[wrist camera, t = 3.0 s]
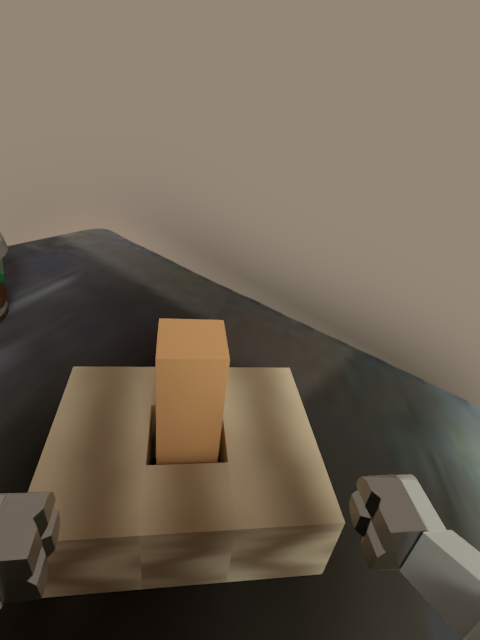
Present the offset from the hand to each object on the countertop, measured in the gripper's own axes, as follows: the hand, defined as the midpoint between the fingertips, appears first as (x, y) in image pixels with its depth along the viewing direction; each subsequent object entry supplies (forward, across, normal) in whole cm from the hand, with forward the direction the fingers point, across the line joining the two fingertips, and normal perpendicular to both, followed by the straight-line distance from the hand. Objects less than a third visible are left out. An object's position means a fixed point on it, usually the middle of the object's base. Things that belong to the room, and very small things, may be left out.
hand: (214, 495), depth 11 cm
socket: (+13, 0, +17) cm, 21 cm away
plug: (+13, 0, +17) cm, 21 cm away
